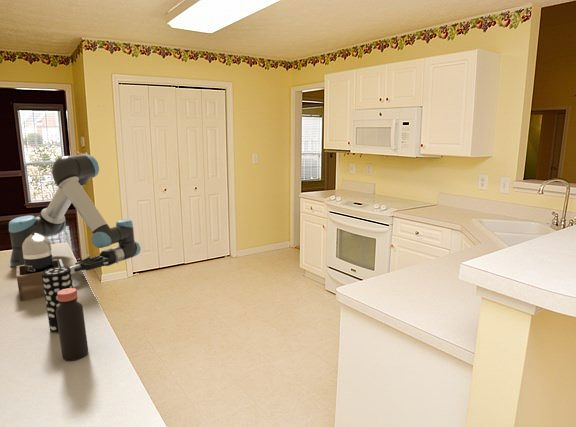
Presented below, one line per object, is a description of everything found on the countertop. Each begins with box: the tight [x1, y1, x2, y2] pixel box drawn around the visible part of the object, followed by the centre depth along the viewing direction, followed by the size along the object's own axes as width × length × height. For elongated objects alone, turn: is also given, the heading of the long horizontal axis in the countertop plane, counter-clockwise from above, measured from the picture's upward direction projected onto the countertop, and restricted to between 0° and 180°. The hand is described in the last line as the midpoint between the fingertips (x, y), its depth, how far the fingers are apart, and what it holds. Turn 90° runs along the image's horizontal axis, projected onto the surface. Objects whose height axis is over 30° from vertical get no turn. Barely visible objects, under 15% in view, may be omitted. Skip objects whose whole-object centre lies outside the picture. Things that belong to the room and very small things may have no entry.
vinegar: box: [56, 287, 89, 362], centre depth 115 cm, size 7×7×20 cm
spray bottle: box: [22, 232, 54, 274], centre depth 165 cm, size 10×10×25 cm
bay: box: [15, 259, 59, 302], centre depth 166 cm, size 16×15×10 cm
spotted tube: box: [42, 266, 74, 334], centre depth 133 cm, size 8×8×20 cm
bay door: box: [58, 258, 65, 267], centre depth 171 cm, size 16×1×10 cm, turn 34°
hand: (65, 272), depth 170 cm, fingers closed
